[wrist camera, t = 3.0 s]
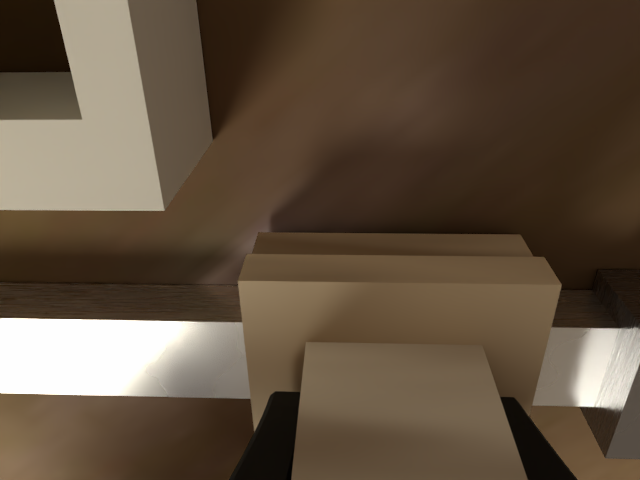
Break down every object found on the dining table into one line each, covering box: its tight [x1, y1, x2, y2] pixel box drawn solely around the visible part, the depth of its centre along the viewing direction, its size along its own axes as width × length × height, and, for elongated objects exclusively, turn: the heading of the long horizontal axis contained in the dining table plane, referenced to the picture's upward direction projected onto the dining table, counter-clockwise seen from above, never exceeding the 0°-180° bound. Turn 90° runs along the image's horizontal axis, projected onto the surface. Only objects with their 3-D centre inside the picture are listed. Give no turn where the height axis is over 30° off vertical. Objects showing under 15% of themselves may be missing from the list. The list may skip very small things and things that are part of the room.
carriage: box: [238, 232, 562, 480], centre depth 11 cm, size 6×6×7 cm
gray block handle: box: [0, 269, 640, 459], centre depth 13 cm, size 4×20×2 cm, turn 91°
